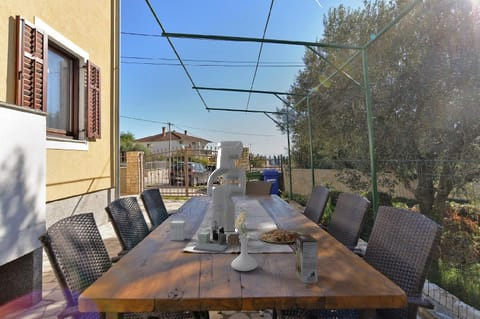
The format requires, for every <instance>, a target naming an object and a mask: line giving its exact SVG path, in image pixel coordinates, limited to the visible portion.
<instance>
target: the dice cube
mask: <svg viewBox="0 0 480 319" xmlns="http://www.w3.org/2000/svg"><path fill="white" fill-rule="evenodd" d="M213 244H216V245H226V244H227V233H225V232H224V233H219V232H218V241H216V240H213Z"/></svg>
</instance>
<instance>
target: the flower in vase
mask: <svg viewBox="0 0 480 319" xmlns="http://www.w3.org/2000/svg"><path fill="white" fill-rule="evenodd" d="M246 218H247V214H246V212H244V211H241V212H240V213H239V214H238V215H237V216H236V219H235V226H234V227H236V228H235V229H238V228H241V232H243V233H244V235H240V236H238V237H239V238H240V244H241V251H240V252H241V253H240V254H239V255H238V256H236V258H235V259H233V261H231V264H230V265H231V268H232V269H234V270H236V271H239V272H249V271H253V270H255V269H257V267H258V262H257V261H256V260H255V258H253V257H252V256H251V255H250V254H248V253H249V252H248V241H249V240H250V237H251V236H250V235H248V230H247V227H246V224H245V221H246ZM243 227H244V229H243Z"/></svg>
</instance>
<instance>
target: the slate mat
mask: <svg viewBox="0 0 480 319" xmlns="http://www.w3.org/2000/svg"><path fill="white" fill-rule="evenodd" d="M228 247H229V245H228V244H221V245H219V244H215V243H199V244H197V245H195V246H194V247H193V251H200V252H201V251H203V252H211V253H224V252H225V250H227V249H228Z"/></svg>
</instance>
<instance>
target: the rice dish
mask: <svg viewBox="0 0 480 319" xmlns="http://www.w3.org/2000/svg"><path fill="white" fill-rule="evenodd" d="M298 234H304V233H302V232H300V231H295V230H282V229H281V228H276V229H272V230H270V231H266V232H265V231H264V232H262V233H260V234H259V235H258V236H257V237H258V239H259V240H261V241H264V242H268V243H277V244H288V243H293V242H294V243H295V235H298Z"/></svg>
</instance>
